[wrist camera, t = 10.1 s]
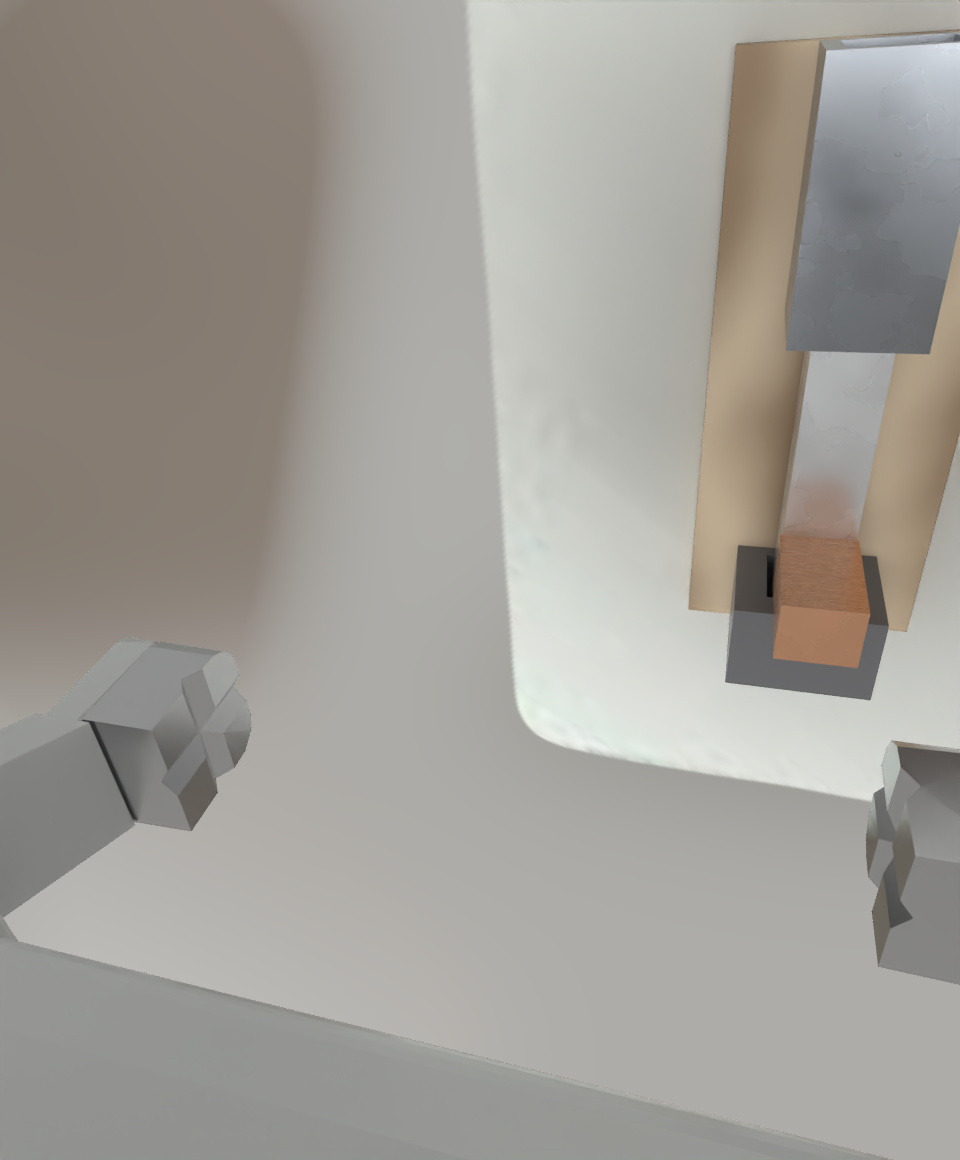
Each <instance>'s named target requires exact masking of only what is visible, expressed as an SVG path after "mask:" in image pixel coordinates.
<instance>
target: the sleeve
mask: <svg viewBox="0 0 960 1160" xmlns="http://www.w3.org/2000/svg"><path fill="white" fill-rule="evenodd" d="M959 226H960V32H945V33H929V34H913V35H897V36H881V37H865V38H849V39H833V40H820V43H819V51H818V58H817V66H816V74H815V81H814V89H813V96H812V104H811V112H810V119H809V127H808V135H807V142H806V150H805V158H804V165H803V173H802V181H801V188H800V196H799V204H798V211H797V219H796V226H795V234H794V242H793V249H792V257H791V265H790V272H789V280H788V288H787V295H786V303H785V337H786V351H819V352H857V353H895V354H930V351H931V346H932V342H933V338H934V333H935V329H936V325H937V321H938V316H939V312H940V308H941V303H942V299H943V295H944V290H945V286H946V282H947V278H948V273H949V269H950V265H951V260H952V256H953V252H954V247H955V243H956V239H957V235H958V230H959Z"/></svg>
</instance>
